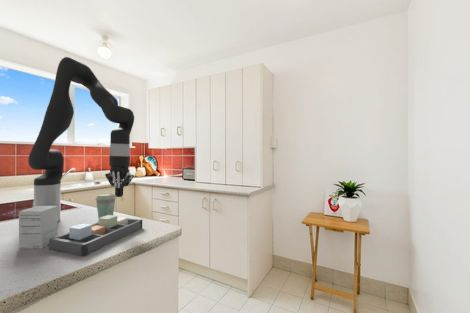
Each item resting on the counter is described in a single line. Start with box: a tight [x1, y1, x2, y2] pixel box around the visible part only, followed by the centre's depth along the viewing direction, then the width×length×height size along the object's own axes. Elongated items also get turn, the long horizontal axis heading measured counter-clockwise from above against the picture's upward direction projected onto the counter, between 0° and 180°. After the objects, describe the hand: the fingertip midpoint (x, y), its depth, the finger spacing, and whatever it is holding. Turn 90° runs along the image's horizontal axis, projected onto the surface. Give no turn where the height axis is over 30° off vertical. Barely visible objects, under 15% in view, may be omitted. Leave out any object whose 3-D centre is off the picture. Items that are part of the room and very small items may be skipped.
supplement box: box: [18, 206, 59, 250], centre depth 74 cm, size 7×7×13 cm
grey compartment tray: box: [48, 216, 143, 257], centre depth 80 cm, size 15×26×4 cm, turn 164°
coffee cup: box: [95, 192, 117, 219], centre depth 102 cm, size 9×8×12 cm
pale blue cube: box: [68, 223, 92, 240], centre depth 72 cm, size 4×4×4 cm
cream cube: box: [117, 216, 128, 225], centre depth 88 cm, size 4×4×4 cm
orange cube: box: [92, 225, 105, 235], centre depth 78 cm, size 4×4×4 cm
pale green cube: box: [98, 214, 118, 229], centre depth 83 cm, size 4×4×4 cm
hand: (119, 196), depth 88 cm, fingers closed
